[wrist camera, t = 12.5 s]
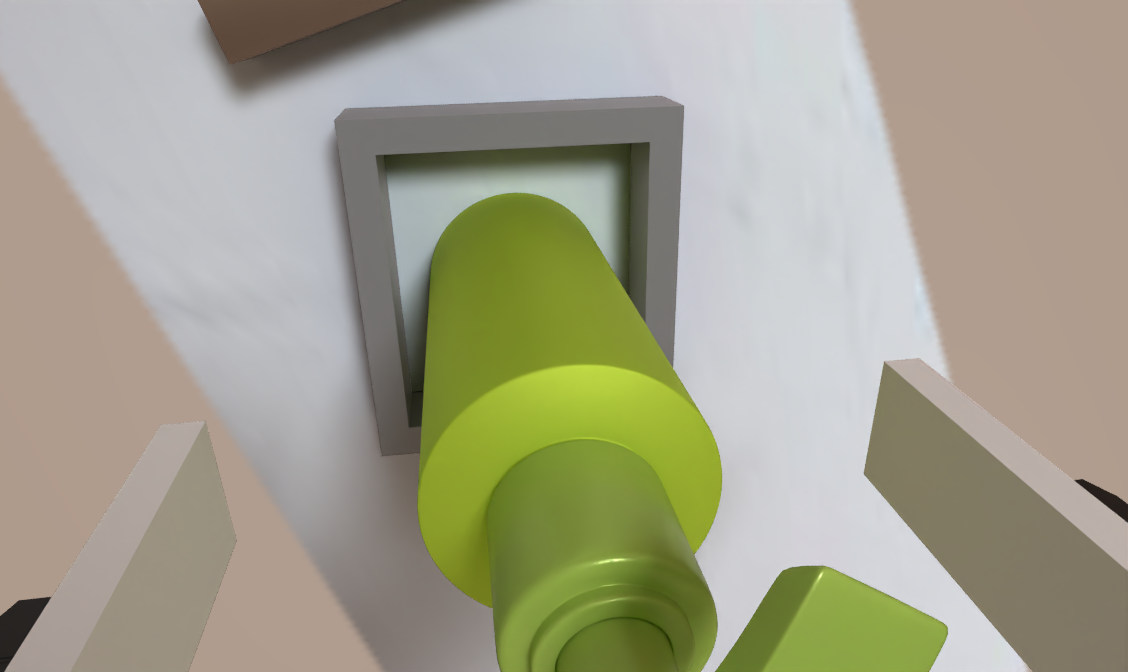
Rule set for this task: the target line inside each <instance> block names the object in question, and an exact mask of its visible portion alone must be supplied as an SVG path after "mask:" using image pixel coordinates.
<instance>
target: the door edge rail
mask: <svg viewBox="0 0 1128 672" xmlns="http://www.w3.org/2000/svg"><path fill="white" fill-rule="evenodd" d="M402 1H405V0H198V2H199V4H200V6H201V8H202V10H203V12H204V14H205V16H206V18H207V20H208V22H209V24H210V26H211V28H212V30H213V32H214V34H215V36H216V38H217V40H218V41H219V43H220V45H221V47H222V49H223V51H224V53H225V55H226V57H227V59H228V61H229V63H230V65H231V64H234V63H237V62H240V61H244V60H247V59H250V58H253V57H256V56H259V55H261V54H264V53H267V52H269V51H272V50H275V49H277V48H280V47H283V46H285V45H288V44H291V43H293V42H296V41H299V40H301V39H304V38H307V37H309V36H312V35H315V34H317V33H320V32H323V31H325V30H328V29H331V28H333V27H336V26H339V25H341V24H344V23H347V22H349V21H352V20H354V19H357V18H360V17H362V16H365V15H368V14H370V13H373V12H376V11H378V10H381V9H384V8H386V7H389V6H392V5H394V4H397V3H400V2H402Z"/></svg>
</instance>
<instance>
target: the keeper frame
mask: <svg viewBox="0 0 1128 672" xmlns="http://www.w3.org/2000/svg"><path fill="white" fill-rule="evenodd" d="M683 120H684V106H683V105H681V104H679V103H677V102H674V101H672V100H670V99H668V98H665V97H663V96H649V97H624V98H599V99H574V100H549V101H524V102H499V103H474V104H449V105H424V106H399V107H375V108H350V109H344V110H343V112H342V113H341V114H340V115H339V116H338V117H337V118H336V119H335V120H334V122H335V129H336V136H337V144H338V151H339V158H340V165H341V172H342V179H343V186H344V193H345V200H346V207H347V214H348V221H349V228H350V235H351V242H352V249H353V256H354V263H355V270H356V277H357V284H358V291H359V298H360V306H361V313H362V320H363V327H364V334H365V341H366V348H367V355H368V362H369V369H370V376H371V383H372V390H373V397H374V404H375V411H376V418H377V425H378V432H379V439H380V446H381V453H382V456H389V455H400V454H411V453H420V446H421V429H422V412H423V395H424V392H413V393H412V389H411V381H410V372H409V364H408V355H407V347H406V338H405V330H404V321H403V313H402V304H401V296H400V287H399V279H398V270H397V262H396V253H395V245H394V236H393V228H392V219H391V211H390V202H389V194H388V186H387V177H386V169H385V160H384V155H388V154H409V153H430V152H452V151H473V150H494V149H515V148H536V147H557V146H578V145H599V144H620V143H631V184H630V252H629V298H630V299H631V301H632V303H633V304H634V306H635V307H636V309H637V311H638V312H639V314H640V316H641V317H642V319H643V320H644V322H645V324H646V325H647V327H648V329H649V330H650V332H651V333H652V335H653V337H654V338H655V340H656V342H657V343H658V345H659V346H660V348H661V350H662V351H663V353H664V355H665V356H666V358H667V359H668V361H669V363H670V364H671V366H672V368H673V357H674V334H675V310H676V286H677V262H678V239H679V215H680V191H681V167H682V144H683Z"/></svg>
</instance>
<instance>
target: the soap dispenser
mask: <svg viewBox="0 0 1128 672" xmlns="http://www.w3.org/2000/svg"><path fill="white" fill-rule="evenodd" d="M721 489H722V468H721V460H720V455H719V451H718V448H717V444H716V442H715V439H714V437H713V434H712V432H711V430H710V428H709V426H708V425H707V423H706V421H705V420H704V418H703V416H702V415H701V413H700V411H699V410H698V408H697V407H696V405H695V403H694V402H693V400H692V398H691V397H690V395H689V394H688V392H687V390H686V389H685V387H684V385H683V384H682V382H681V381H680V379H679V377H678V376H677V374H676V372H675V371H674V369H673V368H672V366H671V364H670V363H669V361H668V359H667V358H666V356H665V355H664V353H663V351H662V350H661V348H660V346H659V345H658V343H657V342H656V340H655V338H654V337H653V335H652V333H651V332H650V330H649V329H648V327H647V325H646V324H645V322H644V320H643V319H642V317H641V316H640V314H639V312H638V311H637V309H636V307H635V306H634V304H633V303H632V301H631V299H630V298H629V296H628V294H627V293H626V291H625V290H624V288H623V286H622V285H621V283H620V281H619V280H618V278H617V277H616V275H615V273H614V272H613V270H612V268H611V267H610V265H609V264H608V262H607V260H606V259H605V257H604V255H603V254H602V252H601V251H600V249H599V247H598V246H597V244H596V242H595V241H594V239H593V238H592V236H591V234H590V233H589V231H588V230H587V228H586V227H585V225H584V224H583V223H582V222H581V221H580V219H579V218H578V217H577V216H576V215H574V214H573V213H572V212H571V211H570V210H568V209H567V208H566V207H564V206H562V205H561V204H559V203H557V202H555V201H553V200H551V199H548V198H545V197H542V196H538V195H534V194H527V193H508V194H501V195H496V196H492V197H489V198H486V199H484V200H481V201H479V202H477V203H475V204H473V205H472V206H470V207H468V208H467V209H466V210H464V211H463V212H462V213H460V214H459V215H458V216H457V217H456V218H455V219H454V220H453V221H452V222H451V223H450V224H449V226H448V227H447V228H446V230H445V231H444V232H443V234H442V236H441V237H440V239H439V241H438V244H437V246H436V248H435V251H434V255H433V258H432V264H431V275H430V292H429V309H428V326H427V343H426V360H425V378H424V395H423V412H422V429H421V446H420V463H419V481H418V499H417V509H418V519H419V525H420V530H421V534H422V537H423V540H424V543H425V545H426V547H427V549H428V552H429V554H430V555H431V557H432V559H433V560H434V562H435V564H436V565H437V566H438V568H439V569H440V570H441V572H442V573H443V574H444V575H445V576H446V577H447V579H448V580H449V581H450V582H452V583H453V584H454V585H455V586H456V587H457V588H458V589H460V590H461V591H462V592H464V593H465V594H466V595H468V596H469V597H471V598H473V599H474V600H476V601H478V602H480V603H482V604H484V605H486V606H488V607H490V608H493V619H494V632H495V644H496V653H497V660H498V664H499V667H500V670H501V672H701V671H702V669H703V668H704V666H705V665H706V663H707V661H708V659H709V657H710V655H711V653H712V650H713V648H714V645H715V641H716V636H717V627H718V622H717V613H716V608H715V604H714V600H713V597H712V595H711V592H710V590H709V587H708V585H707V583H706V580H705V578H704V576H703V574H702V571H701V569H700V567H699V565H698V563H697V560H696V558H695V556H694V554H695V553H696V551H697V550H698V549H699V547H700V546H701V544H702V543H703V541H704V539H705V538H706V536H707V534H708V532H709V530H710V528H711V526H712V524H713V521H714V519H715V516H716V513H717V510H718V506H719V502H720V497H721ZM947 635H948V627H947V626H946V625H945V624H944V623H942V622H941V621H939V620H937V619H935V618H933V617H931V616H929V615H927V614H925V613H923V612H921V611H919V610H917V609H915V608H913V607H911V606H909V605H907V604H905V603H903V602H901V601H899V600H897V599H895V598H893V597H891V596H889V595H887V594H885V593H883V592H881V591H879V590H877V589H874V588H872V587H870V586H868V585H866V584H864V583H862V582H860V581H858V580H856V579H853V578H851V577H849V576H847V575H845V574H843V573H841V572H839V571H836V570H834V569H832V568H830V567H826V566H800V567H791V568H788V569H786V570H783V571H782V572H781V573H780V574H779V576H778V577H777V579H776V580H775V582H774V583H773V585H772V586H771V588H770V589H769V591H768V592H767V594H766V596H765V597H764V599H763V600H762V602H761V604H760V605H759V607H758V609H757V610H756V612H755V613H754V615H753V617H752V618H751V620H750V621H749V623H748V625H747V626H746V628H745V629H744V631H743V632H742V634H741V635H740V637H739V639H738V640H737V642H736V643H735V644H734V646H733V647H732V649H731V650H730V652H729V653H728V655H727V656H726V657H725V659H724V660H723V662H722V663H721V664H720V666H719V667H718V669H717V670H716V671H715V672H929V671H930V669H931V667H932V665H933V664H934V662H935V660H936V658H937V656H938V654H939V652H940V650H941V648H942V646H943V644H944V642H945V640H946V637H947Z"/></svg>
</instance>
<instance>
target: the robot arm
mask: <svg viewBox="0 0 1128 672" xmlns="http://www.w3.org/2000/svg"><path fill="white" fill-rule="evenodd" d="M864 475H865V476H866V477H867V478H868V479H869V481H870V482H871V483H872V484H873V485H874V486H875V488H876V489H877V490H878V491H879V492H880V493H881V495H882V496H883V497H884V498H885V499H886V500H887V502H888V503H889V504H890V505H891V506H892V507H893V509H894V510H895V511H896V512H897V513H898V515H899V516H900V517H901V518H902V519H903V520H904V522H905V523H906V524H907V525H908V526H909V527H910V529H911V530H912V531H913V532H914V533H915V534H916V536H917V537H918V538H919V539H920V540H921V541H922V543H923V544H924V545H925V546H926V547H927V548H928V550H929V551H930V552H931V553H932V554H933V555H934V557H935V558H936V559H937V560H938V561H939V562H940V564H941V565H942V566H943V567H944V568H945V570H946V571H947V572H948V573H949V574H950V575H951V577H952V578H953V579H954V580H955V581H956V582H957V584H958V585H959V586H960V587H961V588H962V589H963V591H964V592H965V593H966V594H967V595H968V596H969V598H970V599H971V600H972V601H973V602H974V603H975V605H976V606H977V607H978V608H979V609H980V610H981V612H982V613H983V614H984V615H985V616H986V617H987V619H988V620H989V621H990V622H991V623H992V625H993V626H994V627H995V628H996V629H997V630H998V632H999V633H1000V634H1001V635H1002V636H1003V637H1004V639H1005V640H1006V641H1007V642H1008V643H1009V644H1010V646H1011V647H1012V648H1013V649H1014V650H1015V651H1016V653H1017V654H1018V655H1019V656H1020V657H1021V658H1022V660H1023V661H1024V662H1025V663H1026V664H1027V665H1028V667H1029V668H1030V669H1031V670H1032V671H1033V672H1128V504H1127V503H1126V502H1124V501H1123V500H1122V499H1120V498H1119V497H1117V496H1116V495H1114V494H1112V493H1109V492H1107V491H1105V490H1103V489H1101V488H1099V487H1097V486H1095V485H1093V484H1091V483H1089V482H1087V481H1085V480H1083V479H1080V480H1073V479H1071V478H1070V477H1069V476H1068V475H1066V474H1065V473H1064V472H1062V471H1061V470H1060V469H1058V467H1056V466H1055V465H1054V464H1052V463H1051V462H1050V461H1049V460H1047V459H1046V458H1045V457H1043V456H1042V455H1041V454H1040V453H1039V452H1037V451H1036V450H1035V449H1033V448H1032V447H1031V446H1030V445H1028V444H1027V443H1026V442H1025V441H1023V440H1022V439H1021V438H1020V437H1018V436H1017V435H1016V434H1014V433H1013V432H1012V431H1011V430H1009V429H1008V428H1007V427H1006V426H1004V425H1003V424H1002V423H1001V422H999V421H998V420H997V419H996V418H994V417H993V416H992V415H991V414H989V413H988V412H987V411H985V410H984V409H983V408H982V407H980V406H979V405H978V404H977V403H975V402H974V401H973V400H972V399H970V398H969V397H968V396H967V395H965V394H964V393H963V392H961V391H960V390H959V389H958V388H956V387H955V386H954V385H953V384H951V383H950V382H949V381H948V380H946V379H945V378H944V377H943V376H941V375H940V374H939V373H937V372H936V371H935V370H934V369H932V368H931V367H930V366H929V365H927V364H926V363H925V362H924V361H922V360H921V359H920V358H917V359H905V360H894V361H884V365H883V371H882V376H881V382H880V387H879V393H878V398H877V404H876V409H875V415H874V420H873V425H872V431H871V436H870V442H869V447H868V453H867V458H866V464H865V469H864ZM236 541H237V540H236V537H235V533H234V529H233V525H232V521H231V517H230V514H229V510H228V506H227V502H226V498H225V495H224V490H223V486H222V483H221V478H220V475H219V471H218V467H217V463H216V459H215V455H214V452H213V448H212V444H211V440H210V436H209V432H208V428H207V424H206V421H199V422H187V423H177V424H165V425H161V426H160V427H159V429H158V430H157V432H156V434H155V435H154V437H153V438H152V440H151V441H150V443H149V445H148V446H147V448H146V449H145V451H144V453H143V454H142V456H141V457H140V459H139V460H138V462H137V464H136V465H135V467H134V468H133V470H132V471H131V473H130V475H129V476H128V478H127V479H126V481H125V482H124V484H123V486H122V487H121V489H120V490H119V492H118V493H117V495H116V497H115V498H114V500H113V501H112V503H111V505H110V506H109V508H108V509H107V511H106V512H105V514H104V516H103V517H102V519H101V521H100V522H99V523H98V525H97V527H96V528H95V530H94V531H93V533H92V534H91V536H90V538H89V539H88V541H87V542H86V544H85V545H84V547H83V549H82V550H81V552H80V553H79V555H78V557H77V558H76V560H75V561H74V563H73V564H72V566H71V567H70V569H69V571H68V572H67V574H66V576H65V577H64V579H63V580H62V582H61V583H60V585H59V586H58V588H57V590H56V591H55V593H54V594H53V596H52V597H46V598H38V599H29V600H19V601H18V602H17V603H15V604H14V605H13V606H12V607H11V608H9V609H8V610H7V611H6V612H5V613H3V614H2V615H1V616H0V672H188V671H189V669H190V666H191V663H192V660H193V658H194V655H195V652H196V650H197V647H198V644H199V641H200V639H201V636H202V633H203V631H204V628H205V625H206V622H207V620H208V617H209V614H210V612H211V609H212V606H213V603H214V601H215V598H216V595H217V593H218V590H219V587H220V584H221V581H222V579H223V576H224V574H225V571H226V568H227V565H228V563H229V560H230V557H231V555H232V552H233V549H234V546H235V543H236Z"/></svg>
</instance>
